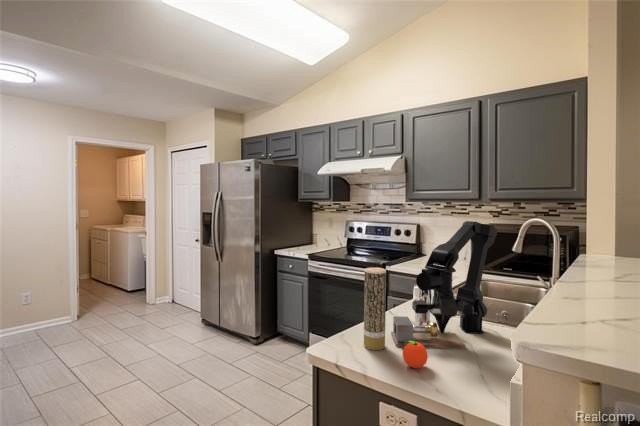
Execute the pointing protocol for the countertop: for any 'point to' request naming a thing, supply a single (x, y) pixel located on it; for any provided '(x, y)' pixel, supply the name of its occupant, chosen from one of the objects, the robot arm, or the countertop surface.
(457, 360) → the countertop surface
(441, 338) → the base board
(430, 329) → the shaft
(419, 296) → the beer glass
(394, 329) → the bearing block
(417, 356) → the clementine
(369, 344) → the brown patterned cylinder
